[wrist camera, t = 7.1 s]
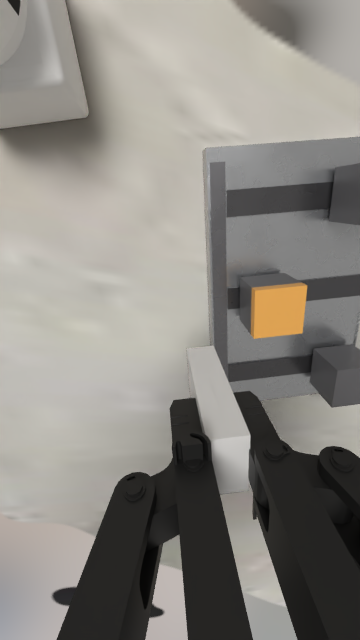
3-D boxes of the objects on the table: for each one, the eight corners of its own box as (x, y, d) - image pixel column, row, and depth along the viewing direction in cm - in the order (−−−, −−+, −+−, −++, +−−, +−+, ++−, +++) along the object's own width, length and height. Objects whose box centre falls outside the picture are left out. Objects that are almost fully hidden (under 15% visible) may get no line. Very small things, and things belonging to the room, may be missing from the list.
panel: (212, 397, 32) (215, 407, 31) (202, 151, 23) (206, 147, 21) (349, 380, 33) (359, 389, 32) (394, 137, 24) (411, 132, 22)
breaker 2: (309, 382, 30) (331, 407, 27) (313, 348, 29) (337, 370, 25) (346, 377, 31) (373, 402, 27) (352, 344, 29) (381, 365, 25)
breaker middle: (239, 319, 27) (253, 338, 23) (239, 277, 25) (255, 290, 21) (281, 315, 27) (302, 333, 23) (284, 272, 25) (307, 285, 22)
